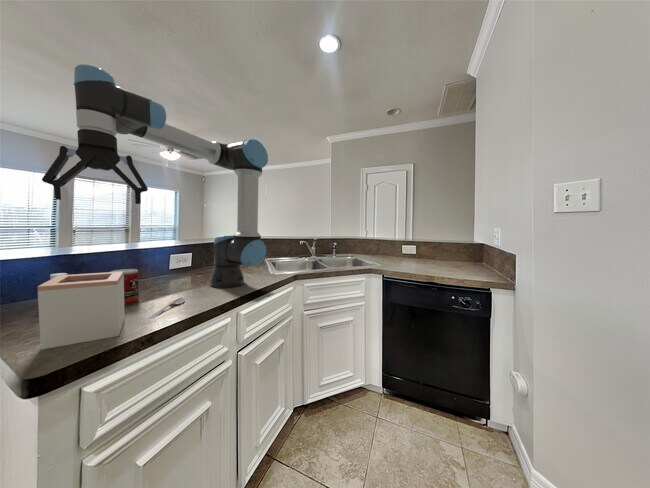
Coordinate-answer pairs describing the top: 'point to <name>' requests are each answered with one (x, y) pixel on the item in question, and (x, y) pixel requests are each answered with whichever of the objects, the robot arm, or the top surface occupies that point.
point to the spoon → (179, 301)
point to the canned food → (130, 285)
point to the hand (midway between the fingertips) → (102, 214)
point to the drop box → (80, 308)
